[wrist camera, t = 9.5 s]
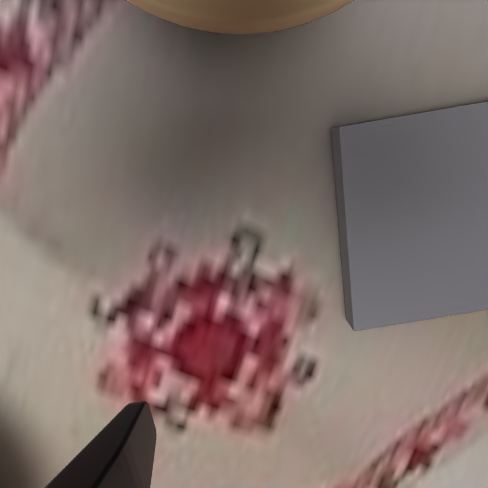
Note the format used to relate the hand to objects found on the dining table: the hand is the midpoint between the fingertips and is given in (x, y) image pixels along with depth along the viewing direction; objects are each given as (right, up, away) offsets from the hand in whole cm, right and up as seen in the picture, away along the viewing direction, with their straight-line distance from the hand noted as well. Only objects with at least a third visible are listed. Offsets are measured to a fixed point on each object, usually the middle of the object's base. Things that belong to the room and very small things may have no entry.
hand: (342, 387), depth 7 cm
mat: (+9, +5, +12) cm, 16 cm away
